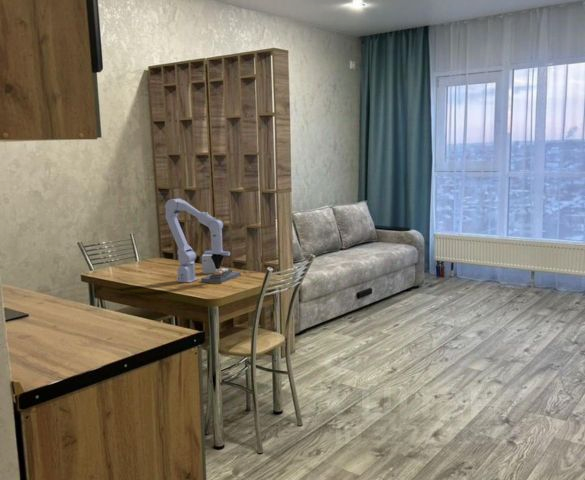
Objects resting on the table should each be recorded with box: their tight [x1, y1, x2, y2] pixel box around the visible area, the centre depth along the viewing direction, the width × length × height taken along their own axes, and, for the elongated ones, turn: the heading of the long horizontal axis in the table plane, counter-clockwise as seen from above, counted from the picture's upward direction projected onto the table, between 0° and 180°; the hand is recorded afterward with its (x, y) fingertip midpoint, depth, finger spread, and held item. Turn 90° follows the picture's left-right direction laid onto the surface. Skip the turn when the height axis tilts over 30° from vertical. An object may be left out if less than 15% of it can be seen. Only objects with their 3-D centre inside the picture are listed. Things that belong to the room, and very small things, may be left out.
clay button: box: [214, 271, 222, 276], centre depth 300 cm, size 4×4×2 cm
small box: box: [201, 253, 217, 275], centre depth 324 cm, size 8×6×10 cm
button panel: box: [200, 268, 242, 284], centre depth 307 cm, size 21×12×3 cm, turn 156°
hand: (217, 268), depth 299 cm, fingers closed
